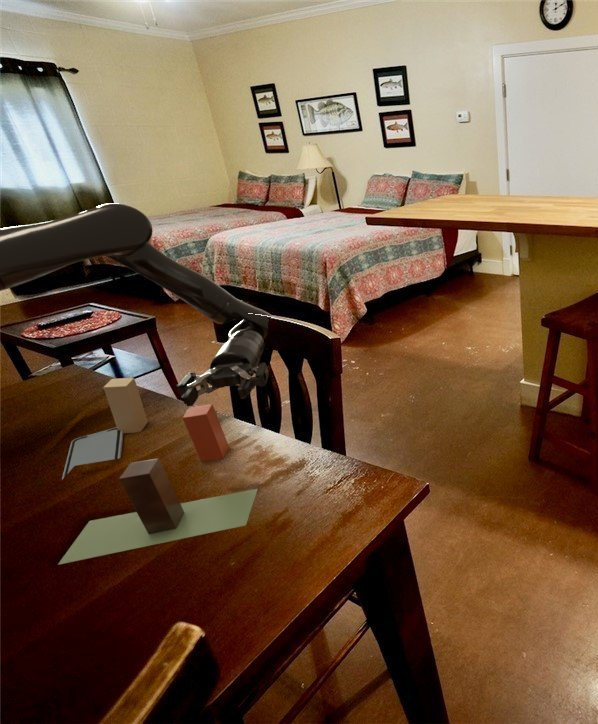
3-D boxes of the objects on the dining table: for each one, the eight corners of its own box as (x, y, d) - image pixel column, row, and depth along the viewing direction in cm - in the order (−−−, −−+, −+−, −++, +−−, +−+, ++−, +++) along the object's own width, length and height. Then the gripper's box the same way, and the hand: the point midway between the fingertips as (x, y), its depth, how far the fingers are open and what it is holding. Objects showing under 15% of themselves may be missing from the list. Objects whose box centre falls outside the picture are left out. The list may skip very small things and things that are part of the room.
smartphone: (59, 486, 75) (71, 439, 86) (62, 490, 76) (73, 443, 86) (118, 468, 79) (122, 425, 90) (120, 472, 80) (124, 429, 90)
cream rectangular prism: (118, 434, 89) (103, 387, 85) (126, 424, 92) (111, 378, 87) (140, 432, 90) (126, 386, 86) (148, 422, 93) (134, 377, 89)
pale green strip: (60, 570, 62) (57, 564, 61) (92, 525, 69) (89, 520, 68) (247, 530, 68) (245, 525, 67) (259, 493, 75) (258, 488, 74)
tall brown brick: (148, 534, 66) (118, 478, 61) (157, 517, 69) (130, 462, 64) (176, 528, 67) (149, 473, 62) (184, 512, 70) (159, 458, 65)
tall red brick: (203, 466, 80) (182, 417, 76) (209, 454, 83) (189, 407, 79) (225, 462, 81) (206, 414, 77) (230, 451, 84) (212, 403, 80)
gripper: (192, 348, 96) (161, 386, 82) (270, 339, 99) (252, 373, 85) (204, 381, 99) (176, 422, 85) (279, 370, 103) (264, 408, 89)
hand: (214, 398), depth 85 cm, fingers open, 8 cm apart
